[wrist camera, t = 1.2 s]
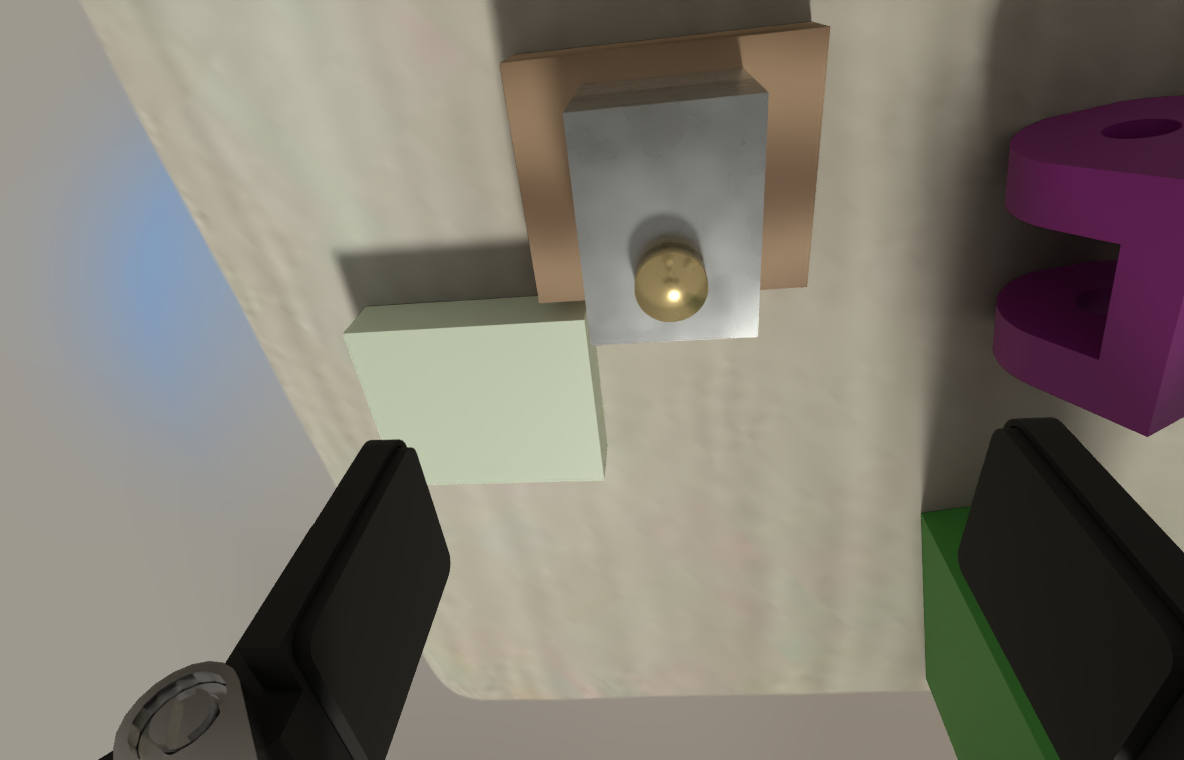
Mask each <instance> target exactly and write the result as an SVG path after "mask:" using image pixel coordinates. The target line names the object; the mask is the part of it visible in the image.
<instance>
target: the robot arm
mask: <svg viewBox="0 0 1184 760" xmlns="http://www.w3.org/2000/svg"><path fill="white" fill-rule="evenodd" d="M958 563H959V567H960V570H961V572H962V575H963V577H964V578H965V580H966V582H967V584H968V586H969V588H970V590H971V592H972V594H973V595H974V597H975V599H976V601H977V603H978V605H979V607H980V609H981V611H982V613H983V614H984V616H985V618H986V620H987V622H988V624H989V626H990V628H991V630H992V631H993V633H994V635H995V637H996V639H997V641H998V643H999V645H1000V647H1001V649H1002V650H1003V652H1004V654H1005V656H1006V658H1007V660H1008V662H1009V664H1010V666H1011V667H1012V669H1013V671H1014V673H1015V675H1016V677H1017V679H1018V681H1019V683H1020V684H1021V686H1022V688H1023V690H1024V692H1025V694H1026V696H1027V698H1028V700H1029V702H1030V703H1031V705H1032V707H1033V709H1034V711H1035V713H1036V715H1037V717H1038V719H1039V720H1040V722H1041V724H1042V726H1043V728H1044V730H1045V732H1046V734H1047V736H1048V738H1049V739H1050V741H1051V743H1052V745H1053V747H1054V749H1055V751H1056V753H1057V755H1058V756H1059V758H1060V760H1184V552H1183V551H1182V550H1181V549H1180V548H1179V547H1178V546H1177V545H1176V544H1175V543H1174V542H1173V541H1172V540H1171V539H1170V537H1169V536H1168V535H1167V534H1166V533H1165V532H1164V531H1163V530H1162V529H1161V528H1160V527H1159V526H1158V525H1157V524H1156V523H1155V521H1154V520H1153V519H1152V518H1151V517H1150V516H1149V515H1148V514H1147V513H1146V512H1145V511H1144V510H1143V509H1142V508H1141V507H1140V506H1139V504H1138V503H1137V502H1136V501H1135V500H1134V499H1133V498H1132V497H1131V496H1130V495H1129V494H1128V493H1127V492H1126V491H1125V490H1124V488H1123V487H1122V486H1121V485H1120V484H1119V483H1118V482H1117V481H1116V480H1115V479H1114V478H1113V477H1112V476H1111V475H1110V474H1109V473H1108V471H1107V470H1106V469H1105V468H1104V467H1103V466H1102V465H1101V464H1100V463H1099V462H1098V461H1097V460H1096V459H1095V458H1094V457H1093V455H1092V454H1091V453H1090V452H1089V451H1088V450H1087V449H1086V448H1085V447H1084V446H1083V445H1082V444H1081V443H1080V442H1079V441H1078V439H1077V438H1076V437H1075V436H1074V435H1073V434H1072V433H1071V432H1070V431H1069V430H1068V429H1067V428H1066V427H1065V426H1064V425H1063V424H1062V423H1061V422H1060V421H1059V420H1058V419H1055V418H1051V417H1049V418H1019V419H1011V420H1009V421H1008V422H1007V423H1006V424H1005V426H1004V428H1001V429H996V430H995V431H994V433H993V435H992V437H991V441H990V444H989V448H988V451H987V454H986V458H985V461H984V464H983V468H982V471H981V474H980V478H979V481H978V485H977V488H976V491H975V495H974V498H973V501H972V505H971V508H970V511H969V515H968V518H967V522H966V525H965V528H964V532H963V535H962V538H961V542H960V545H959V549H958ZM449 572H450V555H449V551H448V548H447V545H446V542H445V539H444V536H443V532H442V529H441V526H440V523H439V520H438V517H437V514H436V511H435V508H434V505H433V501H432V498H431V495H430V492H429V489H428V486H427V483H426V480H425V477H424V473H423V470H422V467H421V464H420V461H419V458H418V455H417V452H416V450H415V449H414V448H412V447H407V446H406V443H405V442H404V441H403V440H400V439H392V440H370V441H367V442H366V443H365V444H364V445H363V447H362V448H361V450H360V451H359V453H358V455H357V456H356V458H355V459H354V461H353V463H352V464H351V466H350V467H349V469H348V471H347V472H346V474H345V475H344V477H343V478H342V480H341V482H340V483H339V485H338V486H337V488H336V490H335V491H334V493H333V495H332V496H331V498H330V499H329V501H328V502H327V504H326V506H325V507H324V509H323V510H322V512H321V513H320V515H319V517H318V518H317V520H316V522H315V523H314V524H313V526H312V527H311V528H310V530H309V531H308V533H307V534H306V536H305V537H304V539H303V541H302V542H301V544H300V545H299V547H298V549H297V550H296V552H295V553H294V555H293V557H292V558H291V560H290V561H289V563H288V564H287V566H286V568H285V569H284V571H283V572H282V574H281V576H280V577H279V579H278V580H277V582H276V583H275V585H274V587H273V588H272V590H271V592H270V593H269V595H268V596H267V598H266V599H265V601H264V602H263V604H262V606H261V607H260V609H259V610H258V612H257V614H256V615H255V617H254V619H253V620H252V622H251V623H250V625H249V626H248V628H247V629H246V631H245V633H244V634H243V636H242V637H241V639H240V641H239V642H238V644H237V645H236V647H235V649H234V650H233V652H232V653H231V655H230V656H229V658H228V660H227V661H226V663H222V662H213V661H207V662H202V663H196V664H192V665H190V666H187V667H185V668H182V669H180V670H177V671H175V672H173V673H171V674H170V675H168V676H167V677H165V678H164V679H162V680H160V681H159V682H157V683H156V684H155V685H153V686H152V687H151V688H150V689H149V690H148V691H147V692H146V693H145V694H143V695H142V696H141V697H140V698H139V699H138V700H137V701H136V703H135V704H134V705H133V706H132V708H131V709H130V710H129V711H128V713H127V714H126V715H125V717H124V719H123V721H122V723H121V725H120V726H119V729H118V731H117V732H116V736H115V742H114V748H113V751H112V752H110V753H108V754H107V755H105V756H104V757H102V758H100V759H99V760H385V758H386V755H387V753H388V750H389V747H390V744H391V741H392V738H393V735H394V733H395V730H396V727H397V724H398V721H399V718H400V715H401V712H402V709H403V706H404V704H405V701H406V698H407V695H408V691H409V689H410V686H411V683H412V680H413V677H414V675H415V672H416V669H417V665H418V663H419V660H420V657H421V654H422V651H423V648H424V646H425V643H426V640H427V637H428V634H429V631H430V628H431V625H432V622H433V619H434V617H435V614H436V611H437V608H438V605H439V602H440V599H441V596H442V593H443V590H444V588H445V585H446V582H447V579H448V576H449Z"/></svg>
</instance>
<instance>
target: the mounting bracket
mask: <svg viewBox="0 0 1184 760" xmlns="http://www.w3.org/2000/svg"><path fill="white" fill-rule="evenodd" d="M1005 206H1006V208H1007V210H1008V211H1009V212H1010V213H1011V214H1012V215H1013V216H1015V217H1016V218H1018V219H1020V220H1022V221H1024V222H1026V223H1029V224H1032V225H1035V226H1038V227H1042V228H1046V229H1051V230H1055V231H1060V232H1065V233H1069V234H1074V235H1079V236H1083V237H1088V238H1093V239H1098V240H1102V241H1107V242H1112V243H1116V244H1121V246H1120V252H1119V257H1118V261H1111V260H1104V261H1088V262H1083V263H1077V264H1072V265H1067V266H1062V267H1056V268H1051V269H1046V270H1040V271H1035V272H1030V273H1027V274H1024V275H1022V276H1020V277H1018V278H1016V279H1014V280H1013V281H1011V282H1010V283H1008V284H1007V285H1006V286H1005V287H1004V288H1003V289H1002V290H1001V291H1000V293H999V295H998V297H997V302H996V314H995V326H994V337H993V353H994V356H995V358H996V360H997V362H998V363H999V364H1000V365H1001V366H1002V367H1003V368H1004V369H1005V370H1006V371H1007V372H1008V373H1010V374H1011V375H1012V376H1014V377H1016V378H1017V379H1019V380H1021V381H1023V382H1025V383H1027V384H1029V385H1031V386H1033V387H1036V388H1038V389H1040V390H1042V391H1045V392H1047V393H1049V394H1051V395H1054V396H1056V397H1058V398H1060V399H1063V400H1065V401H1067V402H1069V403H1072V404H1074V405H1076V406H1079V407H1081V408H1083V409H1085V410H1088V411H1090V412H1092V413H1094V414H1097V415H1099V416H1101V417H1103V418H1106V419H1108V420H1110V421H1112V422H1115V423H1117V424H1119V425H1121V426H1124V427H1126V428H1128V429H1130V430H1133V431H1135V432H1137V433H1140V434H1142V435H1144V436H1146V437H1149V436H1150V435H1152V434H1154V433H1156V432H1158V431H1159V430H1161V429H1163V428H1165V427H1167V426H1168V425H1170V424H1172V423H1174V422H1176V421H1177V420H1179V419H1181V418H1183V417H1184V96H1167V97H1155V98H1144V99H1135V100H1128V101H1120V102H1115V103H1111V104H1107V105H1103V106H1098V107H1094V108H1090V109H1086V110H1081V111H1077V112H1073V113H1068V114H1064V115H1060V116H1056V117H1051V118H1047V119H1044V120H1041V121H1038V122H1036V123H1034V124H1031V125H1029V126H1027V127H1025V128H1024V129H1022V130H1020V131H1019V132H1018V133H1016V134H1015V135H1014V136H1013V137H1012V139H1011V141H1010V148H1009V160H1008V172H1007V184H1006V196H1005Z"/></svg>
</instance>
